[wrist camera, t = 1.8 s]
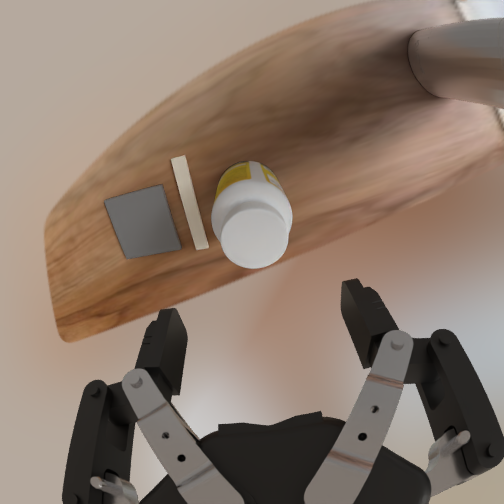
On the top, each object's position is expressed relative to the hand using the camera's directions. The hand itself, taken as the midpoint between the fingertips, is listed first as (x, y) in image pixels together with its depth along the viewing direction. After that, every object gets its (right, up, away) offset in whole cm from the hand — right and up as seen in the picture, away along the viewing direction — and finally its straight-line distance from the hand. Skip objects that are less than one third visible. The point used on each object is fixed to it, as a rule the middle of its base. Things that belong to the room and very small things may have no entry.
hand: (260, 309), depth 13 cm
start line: (-7, +8, +16) cm, 19 cm away
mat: (-13, +6, +17) cm, 22 cm away
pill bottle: (-1, +10, +16) cm, 19 cm away
